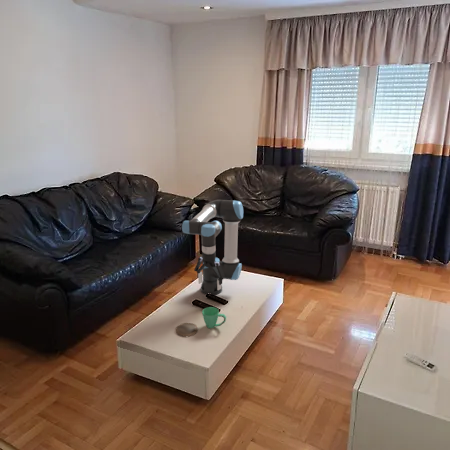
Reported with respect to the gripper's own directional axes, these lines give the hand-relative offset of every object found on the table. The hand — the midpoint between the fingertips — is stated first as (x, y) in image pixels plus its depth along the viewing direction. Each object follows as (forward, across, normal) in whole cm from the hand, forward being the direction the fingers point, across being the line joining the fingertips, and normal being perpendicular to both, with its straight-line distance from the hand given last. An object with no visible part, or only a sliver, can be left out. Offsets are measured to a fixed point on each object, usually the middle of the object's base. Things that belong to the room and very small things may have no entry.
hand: (209, 286), depth 227 cm
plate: (+27, -9, -11) cm, 30 cm away
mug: (+27, +2, +1) cm, 27 cm away
